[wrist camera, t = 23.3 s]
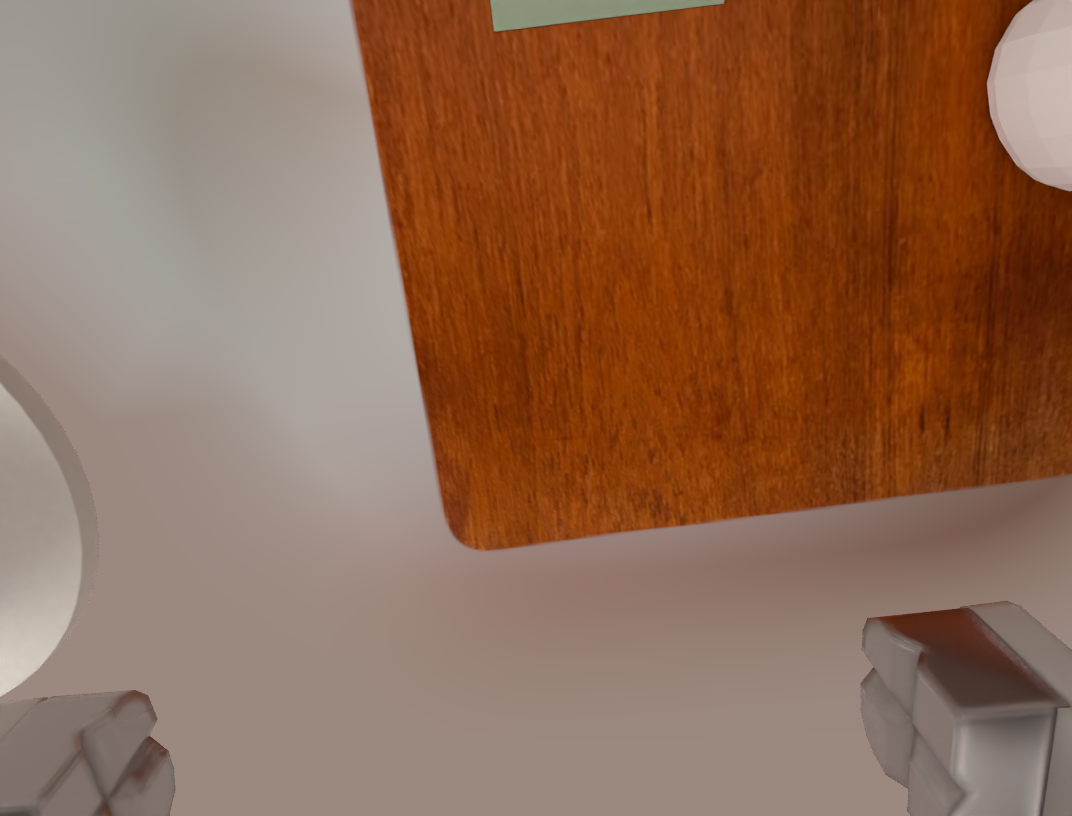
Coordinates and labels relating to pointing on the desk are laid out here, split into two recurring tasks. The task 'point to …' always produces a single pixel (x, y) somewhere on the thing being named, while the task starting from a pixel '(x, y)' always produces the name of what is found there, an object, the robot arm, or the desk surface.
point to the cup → (1036, 91)
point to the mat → (577, 10)
